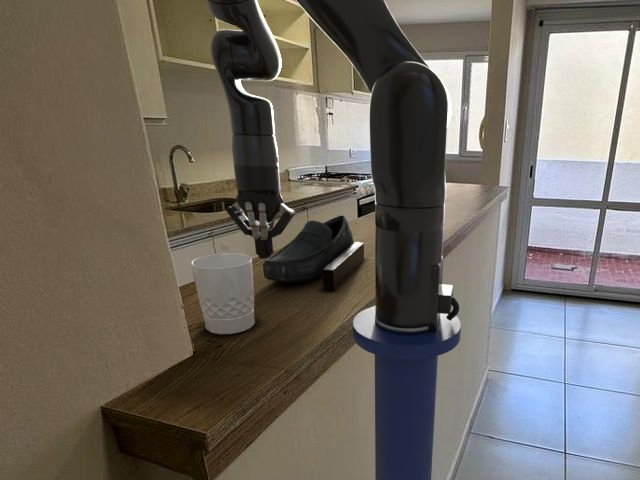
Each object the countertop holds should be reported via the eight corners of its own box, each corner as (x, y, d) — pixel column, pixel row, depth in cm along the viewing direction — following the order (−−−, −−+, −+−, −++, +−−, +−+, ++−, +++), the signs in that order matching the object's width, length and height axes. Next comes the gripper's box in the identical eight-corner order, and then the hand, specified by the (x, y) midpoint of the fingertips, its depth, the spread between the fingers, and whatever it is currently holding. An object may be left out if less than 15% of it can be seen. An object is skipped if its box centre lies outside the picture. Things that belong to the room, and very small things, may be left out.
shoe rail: (364, 259, 102) (363, 242, 100) (334, 291, 82) (333, 270, 80) (355, 259, 102) (355, 242, 100) (323, 290, 82) (322, 269, 80)
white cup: (263, 314, 70) (256, 252, 67) (253, 335, 63) (245, 267, 59) (210, 315, 69) (200, 252, 65) (194, 337, 62) (182, 268, 58)
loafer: (251, 289, 81) (244, 233, 77) (318, 251, 107) (315, 208, 103) (304, 295, 79) (300, 238, 75) (359, 255, 105) (358, 211, 101)
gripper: (209, 161, 76) (222, 260, 83) (283, 165, 75) (290, 265, 81) (232, 159, 83) (242, 250, 90) (300, 163, 81) (305, 255, 88)
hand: (265, 257), depth 85 cm, fingers closed
